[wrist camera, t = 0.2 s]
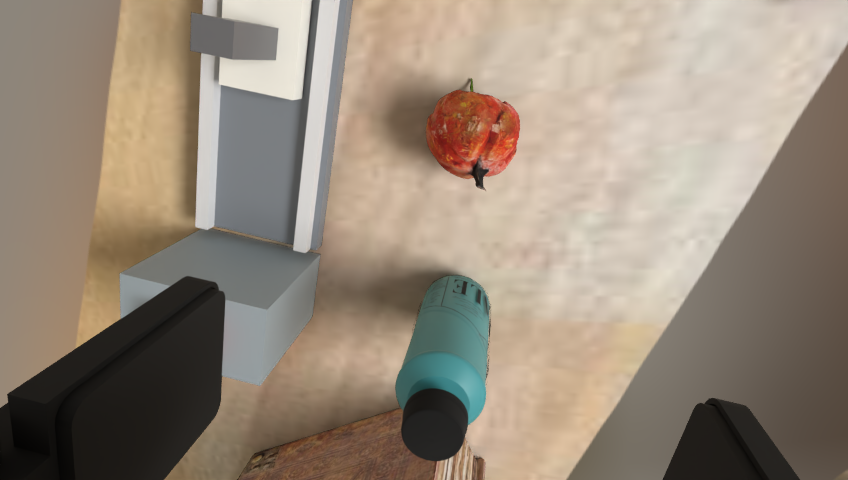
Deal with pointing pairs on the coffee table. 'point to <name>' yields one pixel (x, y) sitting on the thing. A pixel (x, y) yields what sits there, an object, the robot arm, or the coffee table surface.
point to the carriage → (257, 44)
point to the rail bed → (273, 141)
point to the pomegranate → (473, 134)
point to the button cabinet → (237, 293)
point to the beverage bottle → (445, 368)
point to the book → (359, 456)
